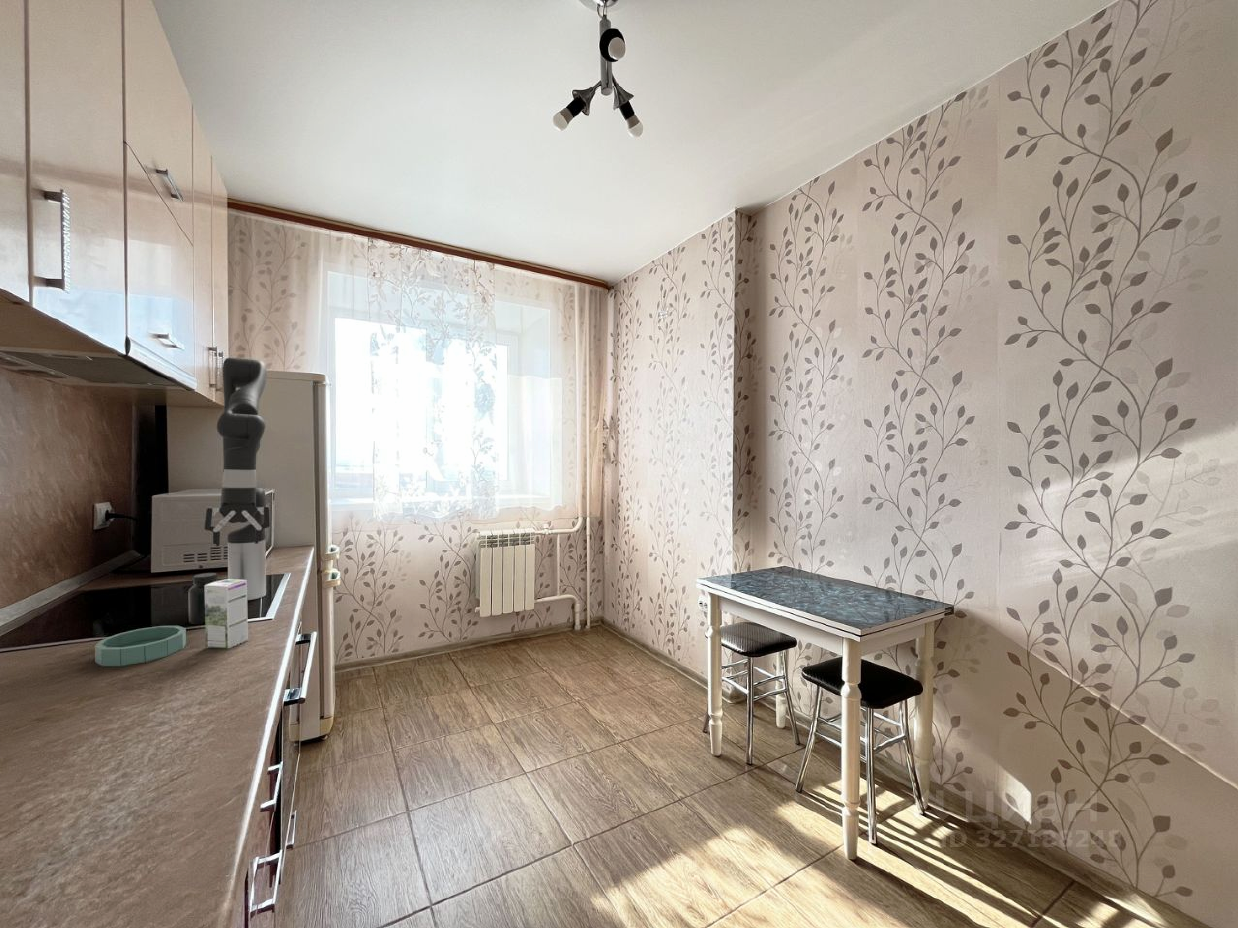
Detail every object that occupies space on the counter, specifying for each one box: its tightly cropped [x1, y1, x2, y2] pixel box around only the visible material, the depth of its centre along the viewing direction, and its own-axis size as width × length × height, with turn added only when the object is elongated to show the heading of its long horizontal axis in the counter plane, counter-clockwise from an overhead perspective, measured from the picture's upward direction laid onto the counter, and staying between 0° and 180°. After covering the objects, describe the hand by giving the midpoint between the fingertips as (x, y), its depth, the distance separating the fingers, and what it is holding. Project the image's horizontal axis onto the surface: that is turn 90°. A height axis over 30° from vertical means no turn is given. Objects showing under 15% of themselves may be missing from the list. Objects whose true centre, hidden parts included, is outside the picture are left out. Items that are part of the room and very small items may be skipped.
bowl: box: [94, 625, 187, 667], centre depth 110 cm, size 14×14×4 cm
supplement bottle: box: [188, 572, 219, 625], centre depth 131 cm, size 7×7×12 cm
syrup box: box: [204, 578, 249, 649], centre depth 115 cm, size 6×6×14 cm
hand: (237, 544), depth 138 cm, fingers open, 8 cm apart
